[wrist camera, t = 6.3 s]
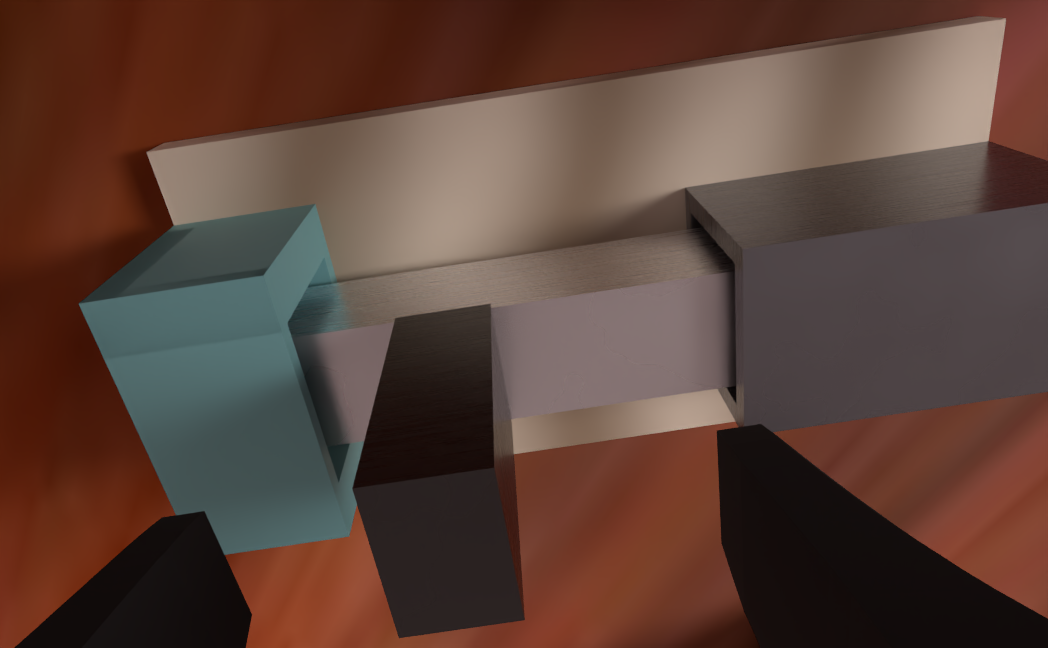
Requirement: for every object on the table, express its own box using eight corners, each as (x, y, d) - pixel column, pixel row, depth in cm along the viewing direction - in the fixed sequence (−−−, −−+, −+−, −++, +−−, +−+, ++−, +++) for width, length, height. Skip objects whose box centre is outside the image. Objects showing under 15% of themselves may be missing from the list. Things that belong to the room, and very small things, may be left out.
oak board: (979, 16, 17) (1006, 18, 16) (932, 371, 22) (952, 389, 21) (163, 143, 18) (146, 152, 17) (281, 468, 22) (272, 489, 21)
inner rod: (797, 208, 17) (1035, 388, 10) (794, 319, 19) (1001, 551, 11) (225, 295, 17) (35, 534, 10) (262, 399, 19) (119, 678, 11)
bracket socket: (315, 203, 17) (263, 275, 13) (376, 421, 20) (349, 536, 16) (174, 225, 17) (78, 303, 13) (254, 439, 20) (196, 559, 16)
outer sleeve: (988, 140, 18) (1133, 189, 14) (964, 302, 20) (1086, 386, 16) (685, 187, 18) (742, 248, 14) (691, 343, 20) (744, 436, 16)
